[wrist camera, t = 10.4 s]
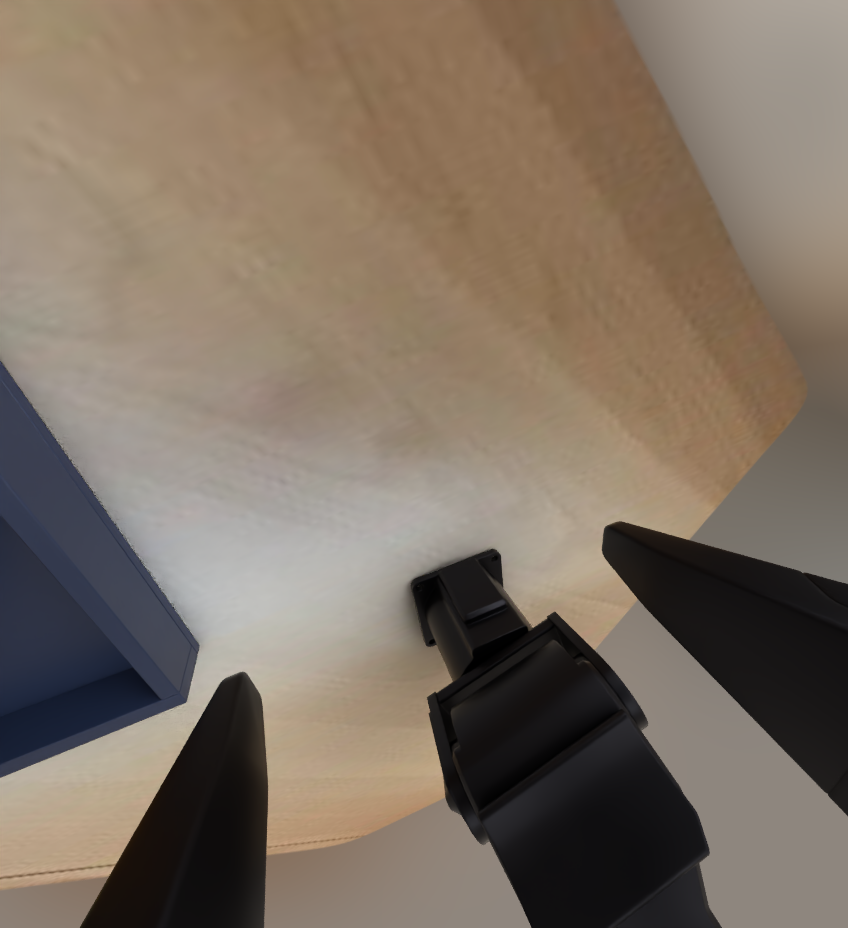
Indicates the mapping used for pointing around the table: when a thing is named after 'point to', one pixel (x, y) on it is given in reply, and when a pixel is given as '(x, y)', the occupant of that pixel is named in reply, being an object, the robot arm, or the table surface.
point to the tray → (72, 606)
